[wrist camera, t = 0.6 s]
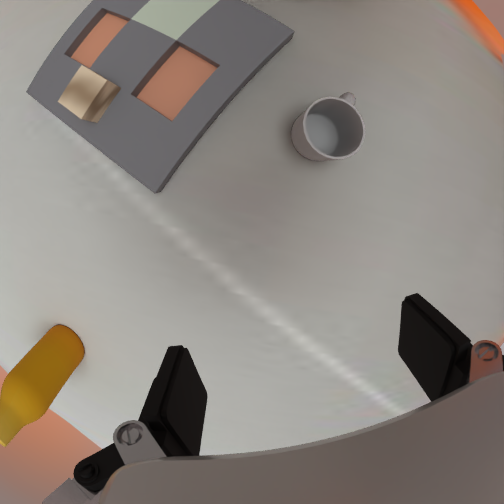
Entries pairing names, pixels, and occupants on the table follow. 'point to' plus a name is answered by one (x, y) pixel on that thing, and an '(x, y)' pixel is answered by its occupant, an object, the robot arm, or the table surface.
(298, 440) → the table surface
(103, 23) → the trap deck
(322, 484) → the robot arm
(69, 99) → the beech block
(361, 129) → the cup
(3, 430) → the beer bottle
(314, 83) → the table surface
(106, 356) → the table surface
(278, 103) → the table surface
